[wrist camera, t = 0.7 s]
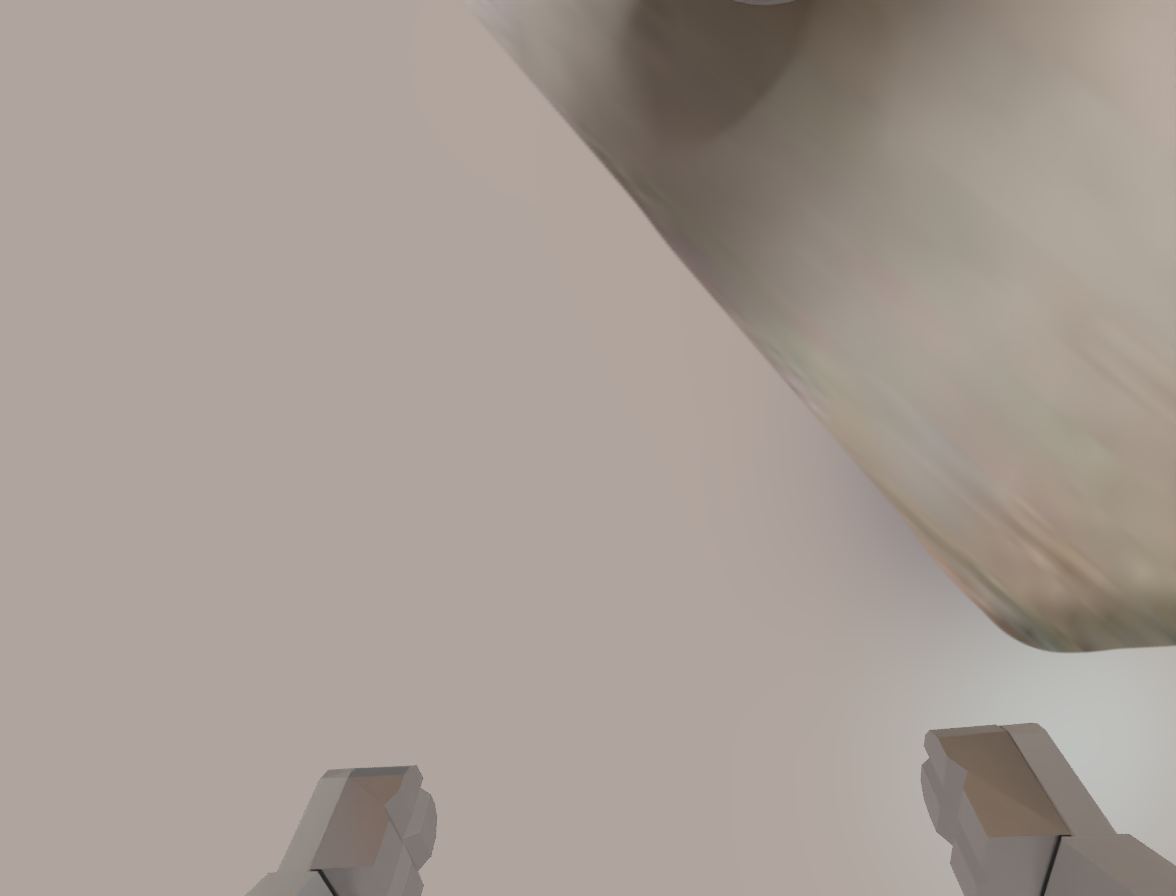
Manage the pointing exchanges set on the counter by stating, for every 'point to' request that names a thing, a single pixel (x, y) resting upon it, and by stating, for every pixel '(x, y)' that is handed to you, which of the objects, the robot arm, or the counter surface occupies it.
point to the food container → (764, 2)
